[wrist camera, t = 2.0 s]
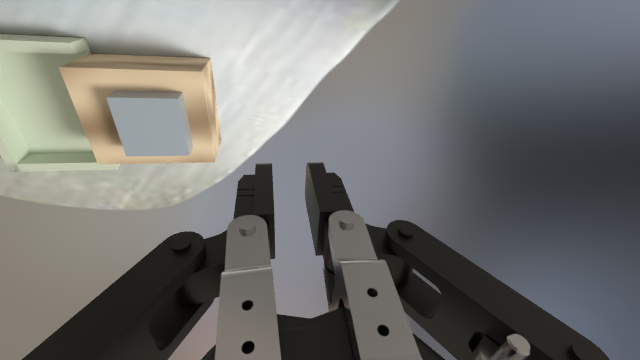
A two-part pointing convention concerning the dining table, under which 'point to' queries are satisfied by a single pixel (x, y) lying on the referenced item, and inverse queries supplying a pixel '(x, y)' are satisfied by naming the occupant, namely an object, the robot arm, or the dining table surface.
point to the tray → (41, 106)
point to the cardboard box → (142, 75)
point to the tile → (151, 123)
